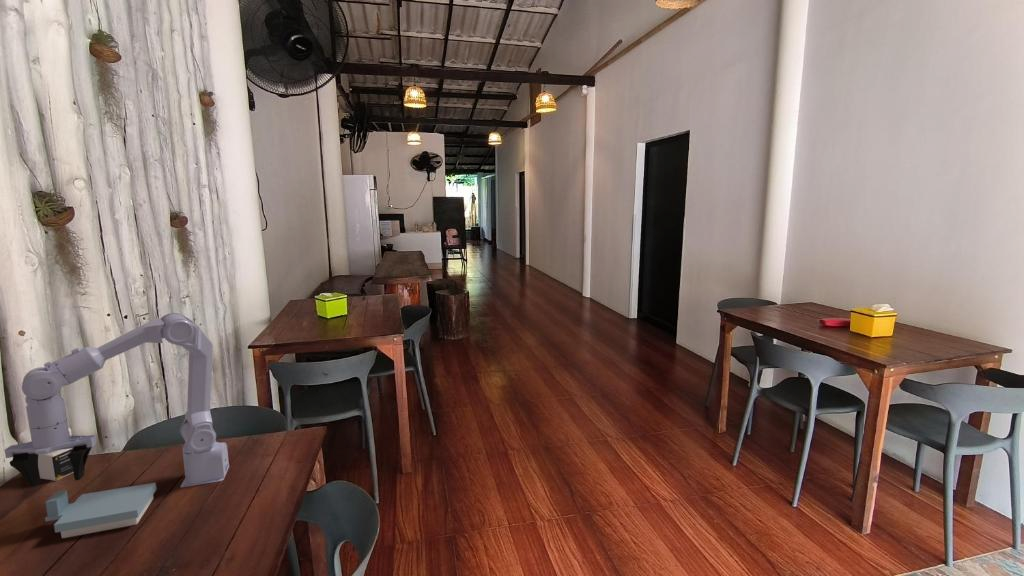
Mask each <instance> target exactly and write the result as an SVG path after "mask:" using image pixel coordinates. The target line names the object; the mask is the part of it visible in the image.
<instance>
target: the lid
mask: <svg viewBox="0 0 1024 576" xmlns="http://www.w3.org/2000/svg"><path fill="white" fill-rule="evenodd" d="M67 491H68V490H67V489H65V490H58V491H55V492H54V493H53V494H52V495H51V496H50V497H48V499H47V500H46V501H45V506H46V507H45V509H46V513H47V516H45V517H44V519H45V520H44V521H45V522H50V521H56V520H57V521H56V522H55V523H54V524H53V529H54V533H61V532H62V531H67V530H73V529H78V528H83V527H89V526H94V525H100V524H105V523H111V522H116V521H122V520H127V519H132V518H138V517H139V515H140V514H141V512H142V511H143V509H144V508H145V506H146V505H147V503H148V502H149V500H150V498H151V497H152V495H153V496H154V494H155V492H156V491H157V483H156V482H150V483H143V484H138V485H133V486H126V487H125V486H124V487H120V488H119V487H118V488H111V489H106V490H101V491H94V492H89V493H88V492H87V493H82V494H81V495H80V496H79V497H77V499H76V500H75V501H74V502H73V503H72V502H71V503H69V497H68V492H67Z"/></svg>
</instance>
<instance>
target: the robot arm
mask: <svg viewBox="0 0 1024 576" xmlns="http://www.w3.org/2000/svg"><path fill="white" fill-rule="evenodd" d="M163 339H164V340H165V341H167V342H168V343H169V344H172V345H175V346H179V347H181V348H183V349H185V350H186V351H188V352H189V353H188V374H187V375H188V376H187V377H188V378H187V381H188V382H187V383H188V384H187V403H186V404H187V405H186V406H187V407H186V412H185V413H184V421H183V423H182V424H181V426H180V429H179V432H180V434H179V435H180V436H181V437H182V438H183V440H184V441H185V442H184V445H183V446H182V447H181V448H182V449H181V450H182V457H183V466H184V475H185V478H184V479H183V481H182V483H181V484H180V488H187V487H193V486H197V485H198V486H199V485H203V484H209V483H217V482H222V481H224V480H225V477H226V476H227V473H228V470H229V469H230V463H229V452H228V444H227V443H226V442H218V441H217V433H216V432H215V429H214V428H213V418H212V415H211V400H212V399H211V398H212V397H211V395H212V370H213V349H214V348H213V343H212V341H211V340H210V338H208V336H207V335H206V333H204V332H203V330H202V329H201V327H200V326H199V325H198V324H196V323H195V322H194V321H193V320H191V319H190V318H188V317H186V316H185V315H183V314H181V313H178V312H170V313H167V314H164V315H163V316H162V317H161V318H160V317H155V318H153V319H152V320H150V321H148V322H146V323H142V324H141V325H140V326H138V327H136V328H134V329H131V330H130V331H127V332H126V333H124V334H122V335H120V336H118V337H116V338H114V339H112V340H110V341H108V342H107V343H105V344H103V345H100V346H99V347H90V346H89V347H88V346H85V347H83V348H81V349H80V348H79V347H76V348H74V349H72V350H71V353H70V354H67V355H65V356H63V357H62V358H59V359H57V360H55V361H53V362H51V361H47V362H46V363H45V362H44V366H43V367H42V366H39V367H35V368H33V369H31V370H29V371H28V372H26V374H25V375H24V377H23V379H22V381H21V382H22V383H21V384H22V385H21V390H22V393H23V395H24V396H25V403H26V405H25V409H26V415H27V421H28V428H29V433H30V439H31V441H28V442H23V443H19V444H12V445H11V444H10V445H9V446H8V447H6V448H5V449H4V454H5V458H6V459H10V458H12V460H10V461H9V465H10V467H13V468H14V469H15V470H17V471H18V472H19V473H20V474H21V475H22V477H23V478H24V479H25V481H26V483H27V484H28V485H29V487H30V488H33V487H36V486H37V485H38V484H39V483H40V482H41V478H40V474H39V469H38V454H43V453H47V452H49V451H55V450H62V449H70V448H73V449H74V450H72V451H71V452H70V453H68V457H69V459H70V461H71V464H72V467H73V472H74V473H73V478H74V481H80V480H81V479H82V478H83V477H84V476H85V469H86V466H85V465H86V464H87V460H88V457H89V455H90V452H91V451H92V448H93V447H94V446H95V445H96V444H97V437H96V436H97V435H96V434H92V435H91V434H90V435H72V436H69V429H68V428H69V425H68V417H67V411H66V403H65V399H64V398H63V396H62V388H63V387H64V386H70V385H71V384H74V383H76V382H78V381H79V380H82V379H83V378H85V377H87V376H90V375H91V374H94V373H96V372H97V371H100V370H101V369H103V368H104V365H105V363H106V361H107V360H111V358H115V357H117V356H119V355H121V354H124V353H125V352H128V351H130V350H132V349H134V348H136V347H138V346H140V345H143V344H146V343H149V344H150V343H152V344H163Z"/></svg>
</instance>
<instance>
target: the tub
mask: <svg viewBox="0 0 1024 576" xmlns="http://www.w3.org/2000/svg"><path fill="white" fill-rule="evenodd" d="M153 500H154V494H153V495H152V497H151V498H150V500H149V502H148V503H147V505H146V506H145V508H144V509H143V511H142V512H141V514H140V515H139V517H138V518H132V519H127V520H122V521H116V522H111V523H105V524H100V525H94V526H89V527H83V528H78V529H73V530H67V531H62V532H60V535H61V539H67V538H72V537H78V536H82V535H87V534H92V533H99V532H103V531H108V530H115V529H120V528H125V527H130V526H135V525H138V523H139V522H140V521H141V518H142V517H143V516H144V514H145V513H146V511H147V509H148V508H149V507H150V505H151V503H152V501H153Z"/></svg>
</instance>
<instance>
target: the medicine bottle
mask: <svg viewBox="0 0 1024 576" xmlns="http://www.w3.org/2000/svg"><path fill="white" fill-rule="evenodd" d="M68 429H69V436H73V435H72V429H71V428H70V427H68ZM72 450H74V449H73V448H70V449H62V450H55V451H49V452H47V453H43V454H38V469H39V474H40V480H41V479H43V480H48V481H49V480H50V481H54V482H55V481H56V482H57V481H59V480H61V479H64V478H65V477H67V476H69V475H71V474H74V472H73V467H72V464H71V461H70V459H69V457H68V453H70V452H71V451H72ZM85 467H86V464H85Z"/></svg>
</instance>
